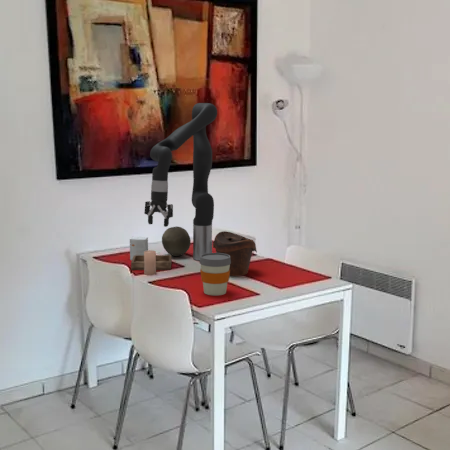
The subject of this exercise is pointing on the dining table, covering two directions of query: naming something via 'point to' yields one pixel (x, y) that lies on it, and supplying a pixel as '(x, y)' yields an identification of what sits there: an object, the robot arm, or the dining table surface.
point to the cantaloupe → (176, 241)
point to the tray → (161, 262)
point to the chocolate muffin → (235, 251)
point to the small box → (138, 246)
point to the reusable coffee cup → (215, 272)
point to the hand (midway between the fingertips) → (158, 225)
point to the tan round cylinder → (149, 262)
